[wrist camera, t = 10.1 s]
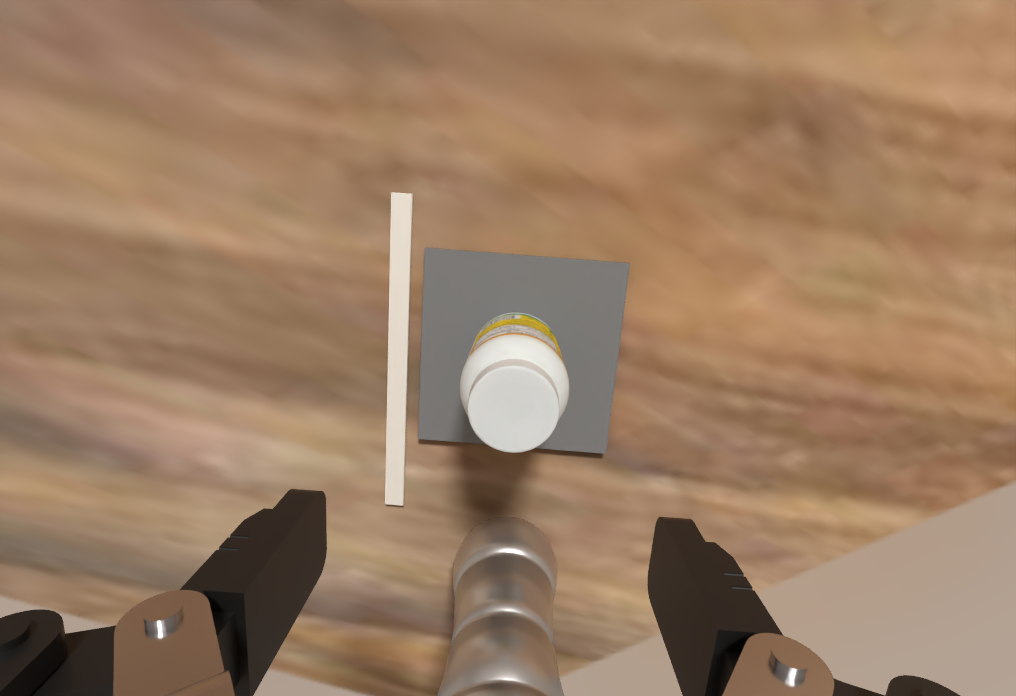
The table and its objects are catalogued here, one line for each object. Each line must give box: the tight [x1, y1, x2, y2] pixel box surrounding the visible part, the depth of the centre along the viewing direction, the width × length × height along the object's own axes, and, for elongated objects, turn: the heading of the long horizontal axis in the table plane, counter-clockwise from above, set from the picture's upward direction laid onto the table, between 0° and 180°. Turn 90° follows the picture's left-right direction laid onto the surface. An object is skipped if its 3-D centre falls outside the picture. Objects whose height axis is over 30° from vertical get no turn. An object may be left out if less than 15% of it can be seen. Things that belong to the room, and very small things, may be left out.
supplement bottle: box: [460, 313, 569, 453], centre depth 27 cm, size 5×5×10 cm
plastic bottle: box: [437, 517, 564, 696], centre depth 25 cm, size 6×7×20 cm
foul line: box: [385, 192, 413, 506], centre depth 32 cm, size 20×1×1 cm, turn 176°
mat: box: [418, 248, 630, 454], centre depth 32 cm, size 12×12×1 cm
